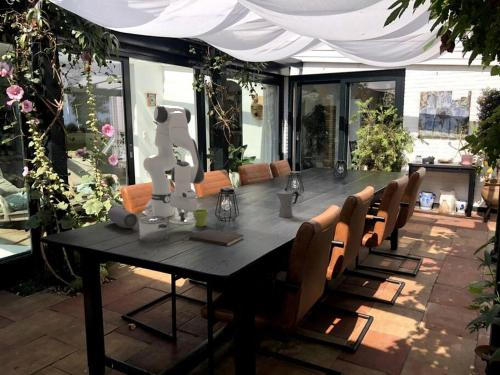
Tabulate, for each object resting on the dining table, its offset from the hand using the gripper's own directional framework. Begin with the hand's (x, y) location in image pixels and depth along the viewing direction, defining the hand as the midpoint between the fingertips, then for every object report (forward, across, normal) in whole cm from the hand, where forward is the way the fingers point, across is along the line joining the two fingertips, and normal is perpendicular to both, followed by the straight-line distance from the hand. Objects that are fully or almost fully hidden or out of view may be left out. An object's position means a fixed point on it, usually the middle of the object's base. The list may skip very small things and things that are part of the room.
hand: (182, 216), depth 221 cm
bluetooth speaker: (+10, -33, -18) cm, 39 cm away
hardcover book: (+8, +24, +4) cm, 26 cm away
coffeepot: (+7, +16, +69) cm, 72 cm away
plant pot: (+8, -3, +15) cm, 17 cm away
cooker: (+8, 0, -18) cm, 20 cm away
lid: (+2, 0, 0) cm, 2 cm away
